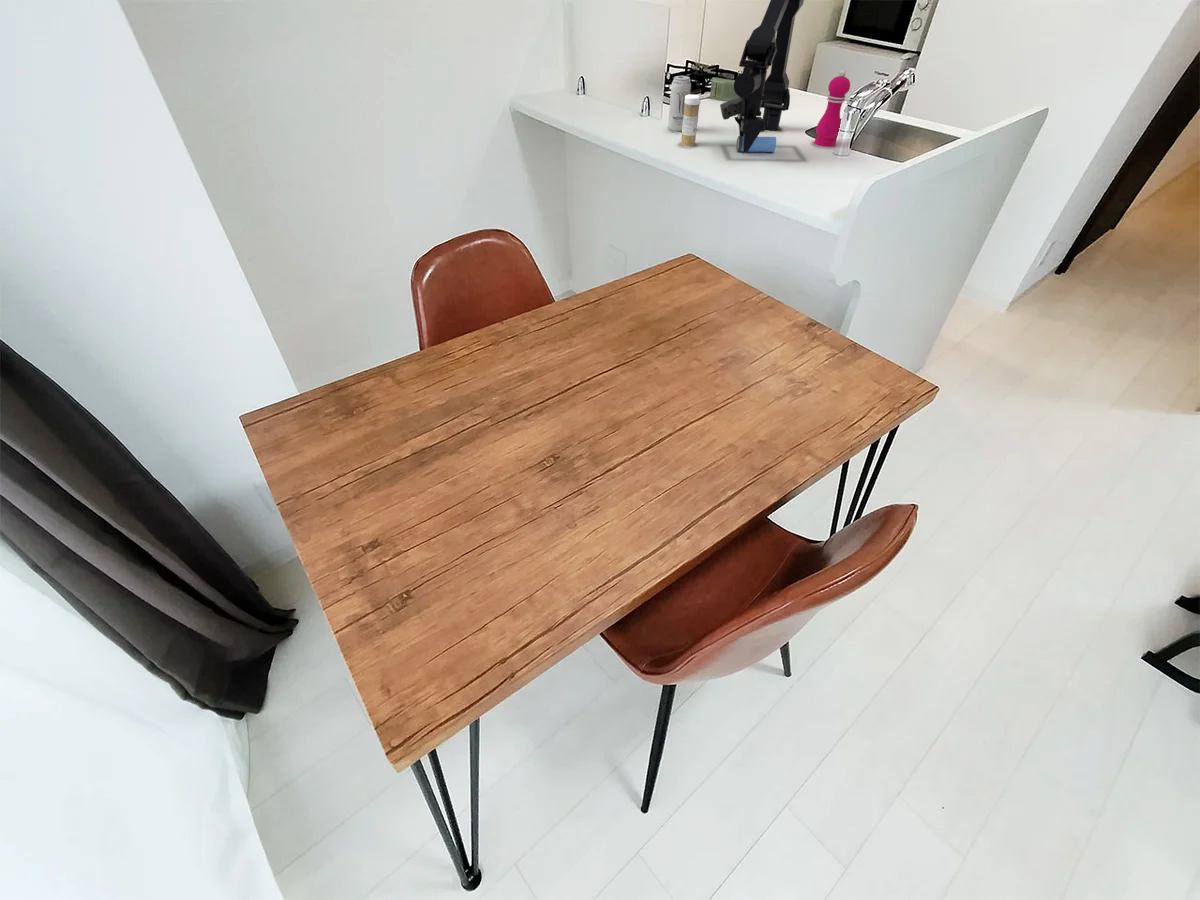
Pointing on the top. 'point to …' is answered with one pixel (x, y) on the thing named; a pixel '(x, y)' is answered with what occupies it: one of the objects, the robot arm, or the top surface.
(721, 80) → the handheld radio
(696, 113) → the sprinkles bottle
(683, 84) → the energy drink can
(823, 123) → the pepper mill
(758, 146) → the tube
